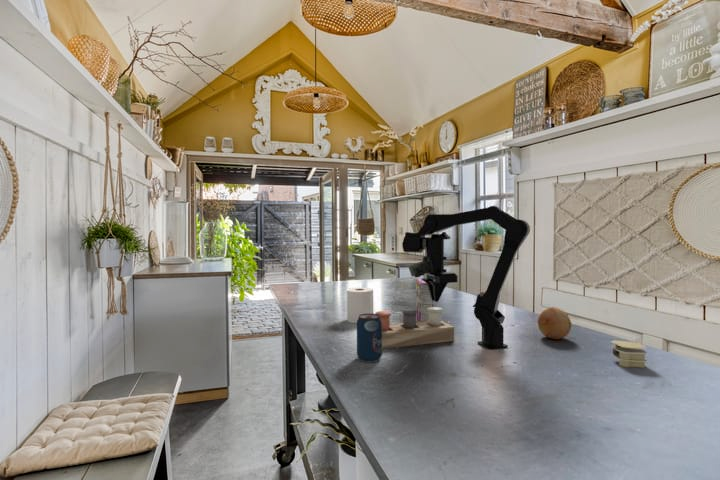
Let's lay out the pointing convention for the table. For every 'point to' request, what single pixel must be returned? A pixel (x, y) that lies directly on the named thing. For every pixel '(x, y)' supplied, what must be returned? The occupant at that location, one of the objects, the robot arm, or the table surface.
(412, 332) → the socket block
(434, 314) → the white plug
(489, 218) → the robot arm
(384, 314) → the salmon plug
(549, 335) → the onion
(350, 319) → the toilet paper
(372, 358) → the soda can
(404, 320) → the grey rounded piece
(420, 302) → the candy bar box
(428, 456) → the table surface
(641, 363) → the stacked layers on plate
